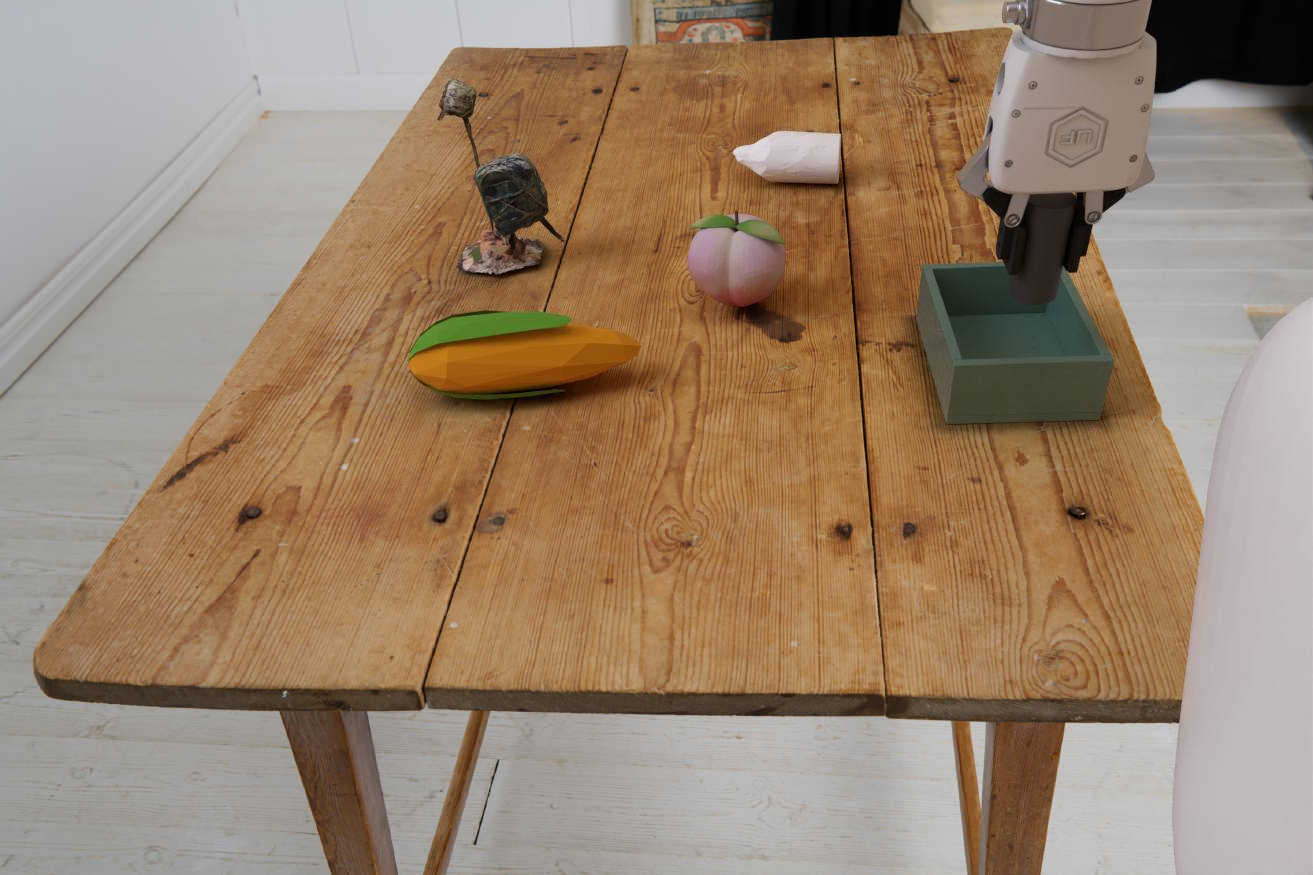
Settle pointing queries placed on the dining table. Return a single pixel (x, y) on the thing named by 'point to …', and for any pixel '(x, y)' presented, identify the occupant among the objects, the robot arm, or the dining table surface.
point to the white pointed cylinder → (794, 157)
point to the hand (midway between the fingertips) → (1038, 262)
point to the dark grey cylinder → (1043, 247)
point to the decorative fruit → (736, 258)
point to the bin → (1009, 348)
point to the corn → (513, 353)
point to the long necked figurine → (500, 198)
